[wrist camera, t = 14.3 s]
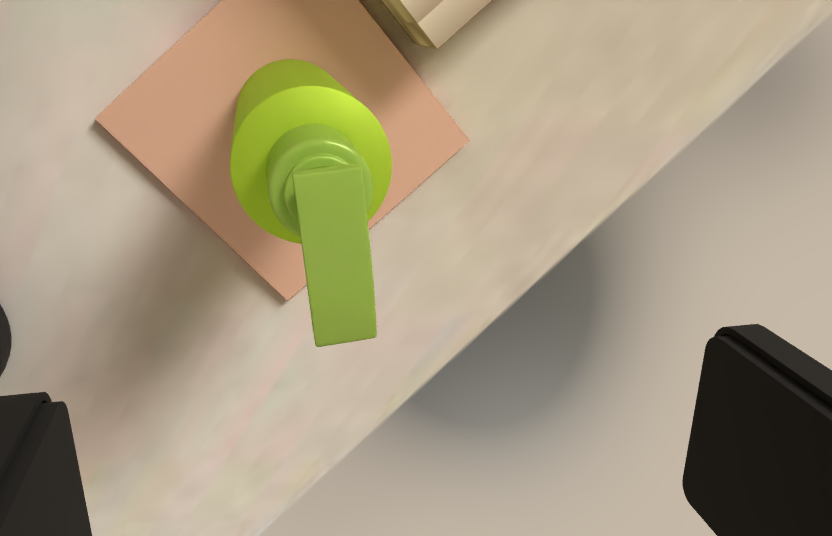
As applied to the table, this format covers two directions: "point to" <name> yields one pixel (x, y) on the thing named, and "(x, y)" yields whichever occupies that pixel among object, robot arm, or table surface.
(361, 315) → the soap dispenser
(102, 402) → the table surface
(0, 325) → the pen holder
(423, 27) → the open box
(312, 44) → the plate
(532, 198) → the table surface
